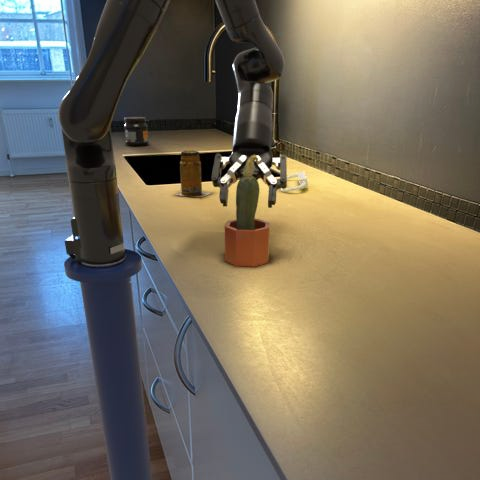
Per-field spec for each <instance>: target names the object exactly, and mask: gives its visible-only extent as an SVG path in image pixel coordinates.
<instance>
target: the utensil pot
mask: <svg viewBox="0 0 480 480" xmlns="http://www.w3.org/2000/svg"><path fill="white" fill-rule="evenodd" d="M254 226H255V230H238V229H237V219H232V220H231V219H230V220H227V221H226V223H225V225H224V262H227V263H229V264H231V265H233V266H235V267H254V268H255V267H258V266H261V265H264V264H268V263H269V259H270V238H271V237H270V236H271V235H270V234H271V233H270V232H271V222H269V221H266V220H262V219H260V218H255V222H254Z"/></svg>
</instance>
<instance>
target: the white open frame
mask: <svg viewBox="0 0 480 480" xmlns="http://www.w3.org/2000/svg"><path fill="white" fill-rule="evenodd" d="M293 178H297V179H298V183H299V185H297V186H293V187H286V188H285V189H282V188H280V191H281V192H282V193H290V192H295V191H298V190H299V191H300V190H301V191H303V189H306V188H309V183H308V179H307V175H306V172H305V171H304V170H303V171H299V172H298V171H297V172H296V173H293V174H289V175H287V180H290V179H293Z"/></svg>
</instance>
